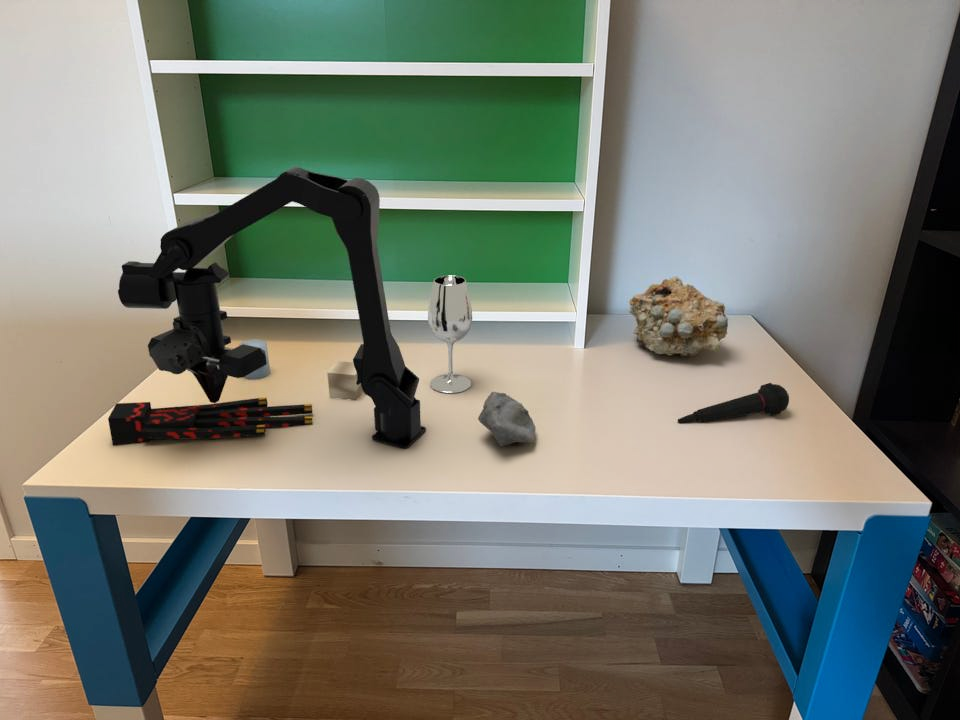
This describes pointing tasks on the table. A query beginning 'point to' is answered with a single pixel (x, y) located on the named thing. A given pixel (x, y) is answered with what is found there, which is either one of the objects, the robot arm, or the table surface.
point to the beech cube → (344, 381)
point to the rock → (677, 319)
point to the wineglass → (450, 325)
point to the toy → (201, 420)
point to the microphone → (744, 405)
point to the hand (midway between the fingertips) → (214, 401)
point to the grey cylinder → (265, 369)
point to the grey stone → (507, 419)
